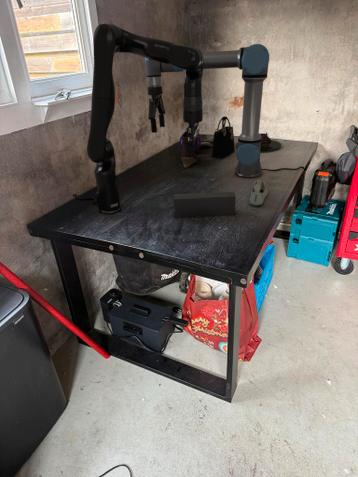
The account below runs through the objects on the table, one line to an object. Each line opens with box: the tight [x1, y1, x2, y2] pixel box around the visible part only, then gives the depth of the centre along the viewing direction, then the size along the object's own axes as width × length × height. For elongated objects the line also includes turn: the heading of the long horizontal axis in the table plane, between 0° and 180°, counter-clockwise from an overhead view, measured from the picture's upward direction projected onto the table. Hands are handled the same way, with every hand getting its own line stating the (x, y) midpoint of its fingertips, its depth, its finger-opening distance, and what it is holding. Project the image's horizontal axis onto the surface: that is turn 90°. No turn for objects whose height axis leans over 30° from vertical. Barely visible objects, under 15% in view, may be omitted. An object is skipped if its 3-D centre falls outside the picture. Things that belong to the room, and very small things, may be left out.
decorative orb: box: [178, 135, 202, 153], centre depth 230 cm, size 15×15×15 cm
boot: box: [180, 131, 198, 169], centre depth 209 cm, size 9×24×20 cm, turn 168°
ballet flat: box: [249, 179, 269, 207], centre depth 158 cm, size 8×24×8 cm, turn 163°
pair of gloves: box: [199, 133, 214, 149], centre depth 252 cm, size 30×26×5 cm
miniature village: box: [235, 132, 282, 154], centre depth 237 cm, size 32×35×9 cm
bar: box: [173, 191, 236, 219], centre depth 146 cm, size 27×5×9 cm, turn 90°
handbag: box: [211, 115, 236, 159], centre depth 219 cm, size 21×9×25 cm, turn 148°
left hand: (193, 151), depth 132 cm, fingers open, 8 cm apart
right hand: (158, 129), depth 176 cm, fingers open, 13 cm apart
